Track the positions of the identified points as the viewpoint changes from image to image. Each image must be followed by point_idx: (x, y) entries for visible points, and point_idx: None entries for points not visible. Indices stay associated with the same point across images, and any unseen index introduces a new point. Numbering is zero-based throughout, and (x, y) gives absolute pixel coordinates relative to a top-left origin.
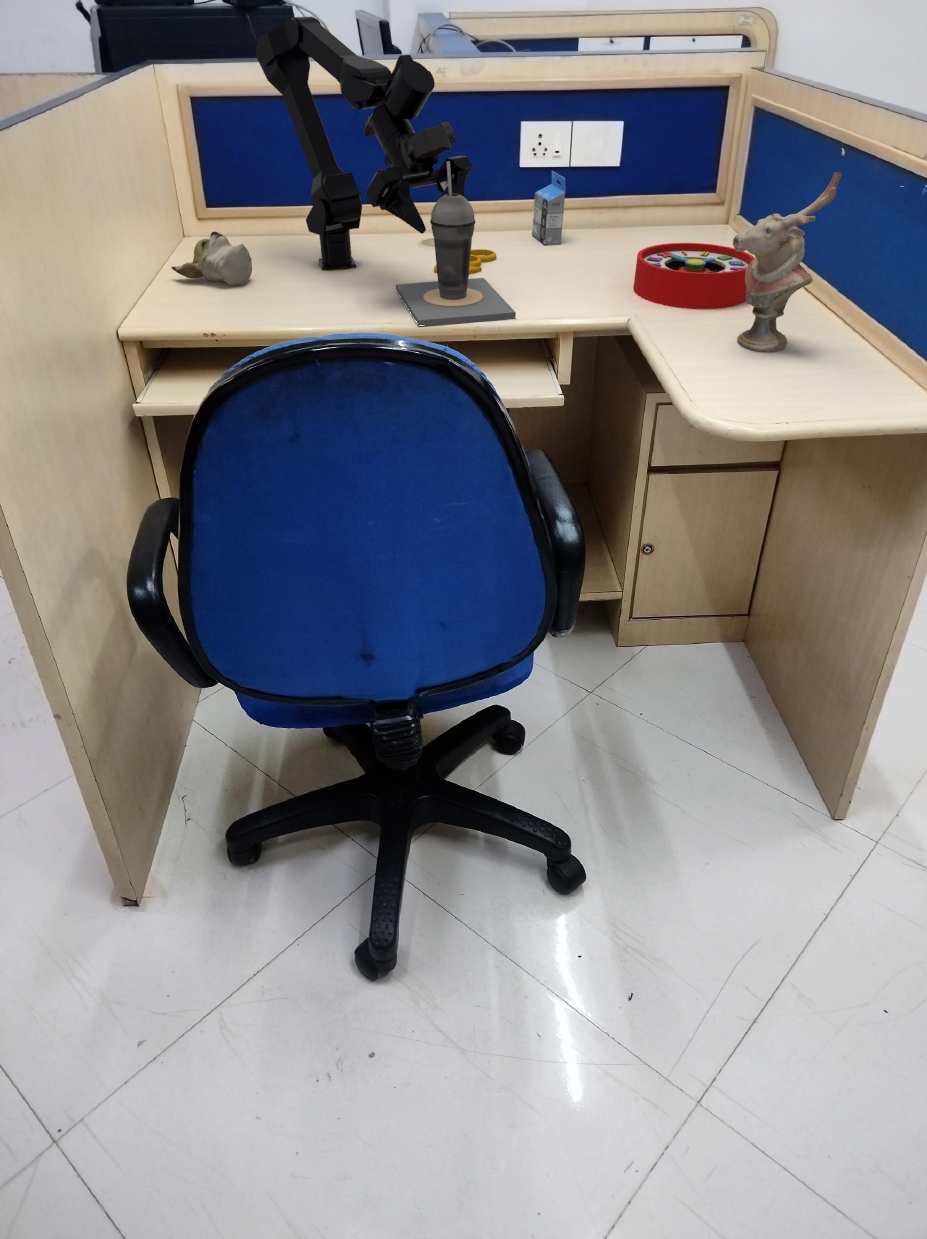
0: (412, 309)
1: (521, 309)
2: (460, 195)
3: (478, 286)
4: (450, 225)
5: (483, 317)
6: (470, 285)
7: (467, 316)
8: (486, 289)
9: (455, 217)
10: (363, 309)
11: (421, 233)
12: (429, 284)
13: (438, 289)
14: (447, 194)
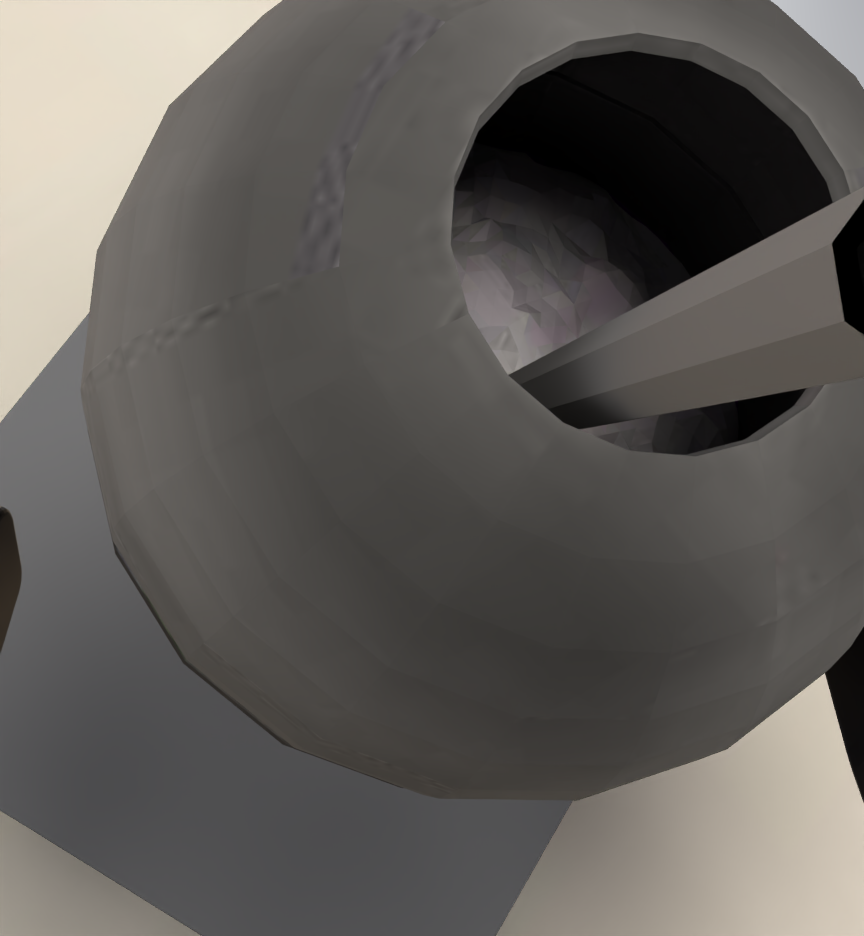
0: None
1: (163, 98)
2: (507, 49)
3: (33, 544)
4: (751, 205)
5: None
6: (52, 610)
7: None
8: (57, 448)
9: (746, 97)
10: (821, 855)
11: None
12: (244, 872)
13: None
14: (679, 456)
